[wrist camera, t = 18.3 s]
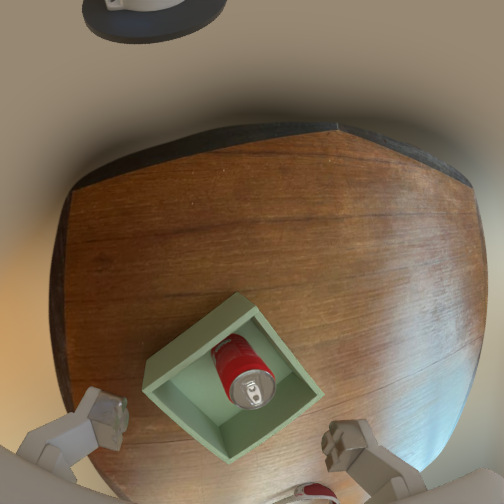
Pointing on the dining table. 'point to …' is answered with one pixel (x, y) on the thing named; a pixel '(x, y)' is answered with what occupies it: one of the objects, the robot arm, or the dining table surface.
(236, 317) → the bin
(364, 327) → the dining table surface
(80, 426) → the robot arm
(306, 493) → the sunglasses
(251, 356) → the beverage can
